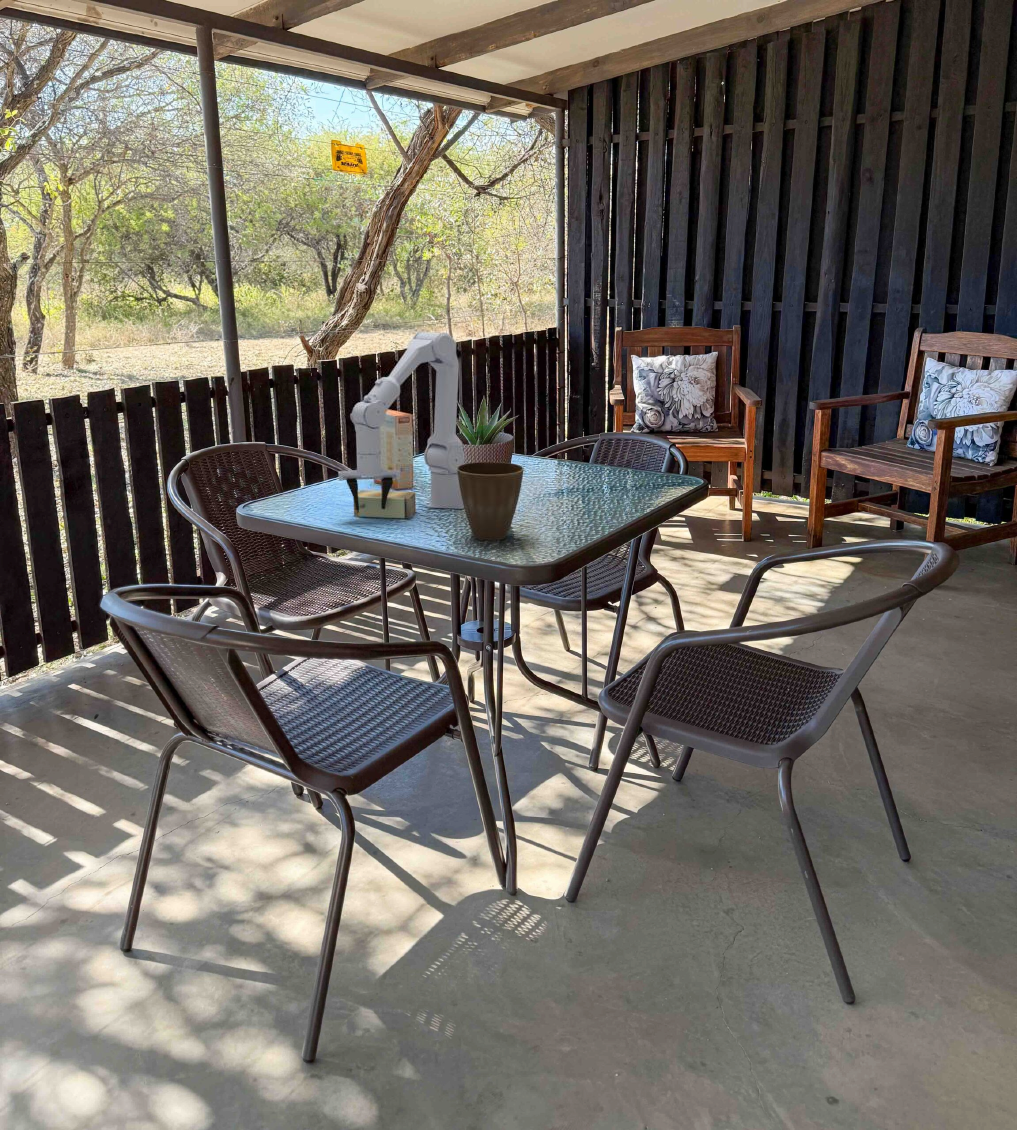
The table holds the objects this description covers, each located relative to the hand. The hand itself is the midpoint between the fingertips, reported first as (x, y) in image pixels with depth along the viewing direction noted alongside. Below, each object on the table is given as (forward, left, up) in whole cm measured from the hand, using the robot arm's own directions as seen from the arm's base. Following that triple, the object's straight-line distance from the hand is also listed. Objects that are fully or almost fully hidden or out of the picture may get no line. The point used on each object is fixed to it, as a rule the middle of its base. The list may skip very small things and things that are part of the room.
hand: (370, 508), depth 231 cm
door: (-3, -2, -3) cm, 5 cm away
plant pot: (-31, +12, -3) cm, 33 cm away
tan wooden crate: (-2, -7, -3) cm, 8 cm away
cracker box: (+4, -41, -3) cm, 42 cm away
